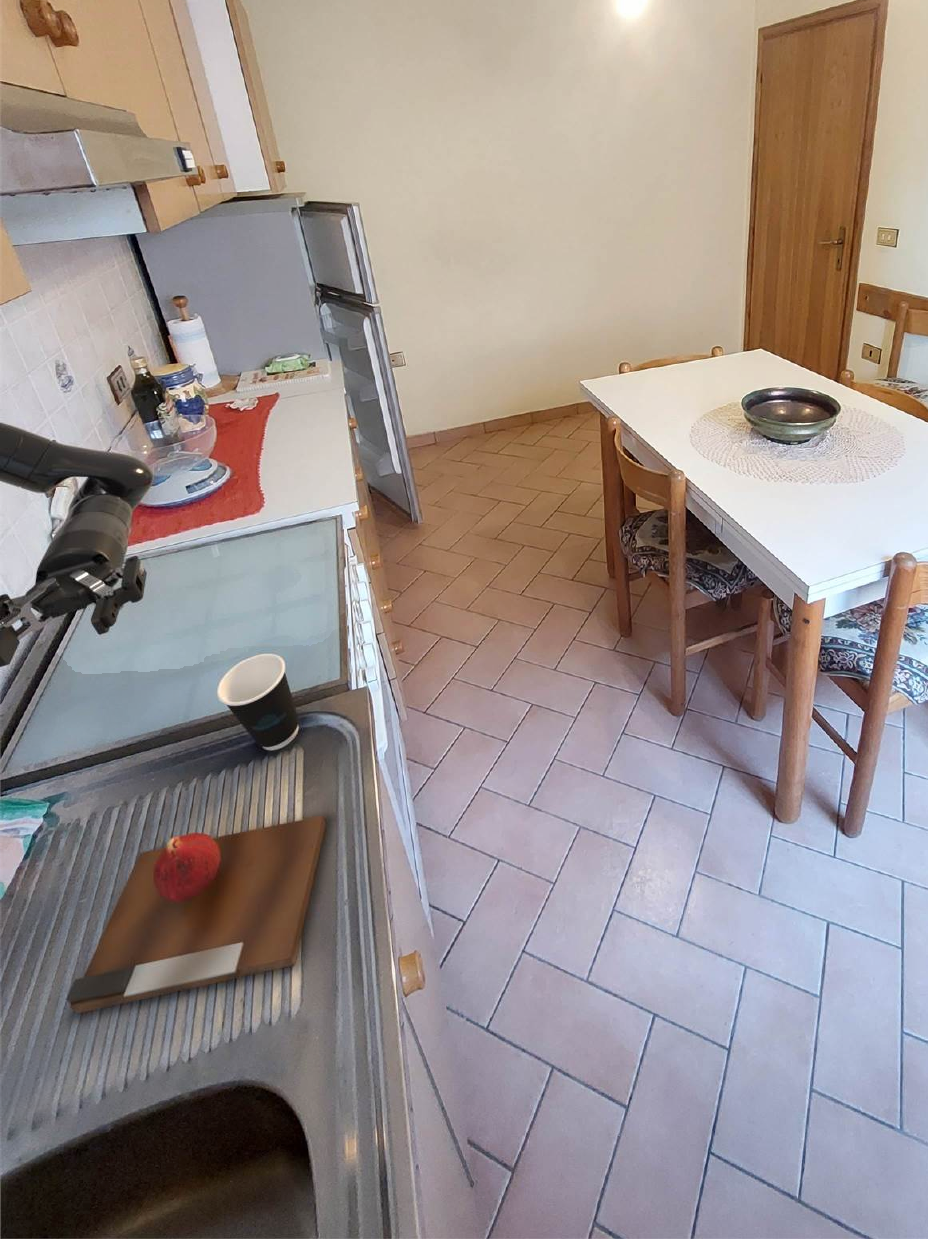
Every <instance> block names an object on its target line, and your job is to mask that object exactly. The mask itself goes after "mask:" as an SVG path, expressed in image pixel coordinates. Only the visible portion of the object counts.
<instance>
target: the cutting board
mask: <svg viewBox="0 0 928 1239" xmlns="http://www.w3.org/2000/svg"><path fill="white" fill-rule="evenodd" d="M326 824H327V823H326V820H325V818H324V817H323V815H320V816H315V817H310V818H305V819H300V820H295V821H290V822H285V823H280V824H275V825H269V826H265V827H260V828H256V829H251V830H246V831H239V832H235V833H231V834H226V835H221V836H220V835H219V836H216V837H211V838H212V839H213V840H214V841H215V842H216V844H217V845H218V847H219V851H220V858H221V859H220V863H219V867H218V870H217V873H216V875H215V877H214V879H213V881H212V882H211V884H210V885H209V886H208V887H207V888H206V889H205V890H204V891H203V892H202V893H201V894H199V895H198V896H196V897H194V898H192V899H190V900H186V901H180V902H173V901H171V900H168V899H165V898H163V897H162V896H160V894H159V892H158V890H157V889H156V887H155V885H154V867H155V864H156V862H157V860H158V857H159V855H160V854H161V853H162V851H163V850H164V849H165V848H166V847H162V848H161V847H160V848H157V849H151V850H147V851H142V852H140V853H139V854H138V857H137V859H136V861H135V864H134V866H133V867H132V870H131V872H130V875H129V877H128V878H127V881H126V883H125V884H124V887H123V890H122V892H121V893H120V896H119V898H118V900H117V903H116V904H115V907H114V909H113V911H112V913H111V915H110V917H109V920H108V922H107V925H106V927H105V928H104V931H103V933H102V935H101V937H100V940H99V942H98V944H97V946H96V949H95V951H94V953H93V955H92V957H91V960H90V962H89V964H88V966H87V968H86V971H85V973H84V975H83V976H82V977H79V978H75V979H74V981H73V983H72V985H71V988H70V990H69V992H68V994H67V996H66V999H65V1000H66V1001H67V1003H69V1004H70V1005H69V1008H70V1009H71V1010H72V1011H73V1012H74V1013H75V1014H77V1015H80V1014H84V1013H87V1012H92V1011H97V1010H100V1009H105V1008H109V1007H114V1006H119V1005H123V1004H128V1003H132V1002H133V1003H134V1002H136V1001H141V1000H146V999H150V998H154V997H160V996H164V995H168V994H172V993H173V994H174V993H177V992H182V991H186V990H190V989H196V988H199V987H203V986H209V985H212V984H218V983H223V982H227V981H231V980H235V979H239V978H244V977H249V976H253V975H258V974H263V973H266V972H270V971H275V970H276V971H277V970H280V969H285V968H289V967H294V966H295V965H296V961H297V957H298V953H299V948H300V943H301V938H302V934H303V930H304V925H305V920H306V916H307V911H308V907H309V904H310V903H309V902H310V898H311V892H312V888H313V883H314V880H315V875H316V871H317V865H318V861H319V858H320V852H321V847H322V842H323V838H324V833H325V831H326V830H325V829H326Z"/></svg>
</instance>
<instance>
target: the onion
mask: <svg viewBox="0 0 928 1239" xmlns="http://www.w3.org/2000/svg"><path fill="white" fill-rule="evenodd" d="M212 838H213V837H211V836H210V835H209V834H207V833H202V832H190V833H187V834H183V835H180V836H174V837H170V839H169V841H168V842H167V843H166V846H165V847H164V848H165V849H164V850H163V851H162V853H161V854H160V855H159V857H158V860H157V862H156V864H155V867H154V885H155V887H156V889H157V890H158V892H159V894H160V896H162V897H163V898H165V899H168V900H171V901H173V902H180V901H186V900H190V899H192V898H194V897H196V896H198V895H199V894H201V893H202V892H203V891H204V890H205V889H206V888H207V887H208V886H209V885H210V884H211V882H212V881H213V879H214V877H215V875H216V873H217V870H218V867H219V863H220V859H221V858H220V851H219V847H218V845H217V844H216V842H215V841H214V840H213V839H212Z"/></svg>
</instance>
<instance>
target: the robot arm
mask: <svg viewBox="0 0 928 1239" xmlns="http://www.w3.org/2000/svg"><path fill="white" fill-rule="evenodd" d="M70 478H86V479H85V481H84V482H83V483H82V485H80V487H79V488H78V490H77V492H76V493H75V495H74V496H73V498H72V500H71V502H70V504H69V506H68V509H67V516H66V517H65V520H64V521H63V523H62V525H61V527H59V528H58V530H57V531H56V533H55V534H54V535H53V537H52V539H51V541H50V543H49V545H48V547H47V549H46V551H45V553H44V555H43V556H42V559H41V560H40V563H39V564H38V566H37V568H36V573H35V582H34V585H33V586H32V587H31V588H30V589H28V590H27V591H26V592H25V595H21V596H18V597H17V596H16V597H13V598H11V597H10V596H9V594H8V593H4V594H0V668H2V667H3V668H4V667H5V666H9V665H10V664H11V662H12V660H13V658H14V656H15V654H16V652H17V650H18V648H19V645H20V643H21V640H22V639H23V638H24V637H26V636H27V635H28V634H30V633H31V632H32V631H34V632H38V631H40V630H42V629H43V628H44V627H45V626H47V625H48V624H49V623H51V622H52V621H54V620H55V619H56V618H58V617H62V616H63V615H66V614H69V613H72V612H77V611H81V610H85V609H87V607H88V606H92V605H93V606H94V609H93V612H92V613H91V617H90V623H91V625H92V627H93V629H94V630H95V632H96V633H97V634H98V635H99V636H101V635H104V634H107V633H109V632H110V628H111V627H113V626H114V625H115V623H117V619H118V616H119V613H120V611H121V610H122V609H123V608H124V605H125V604H127V603H129V602H130V603H132V604H135V603H138V602H140V601H141V600H142V599H144V595H145V594H144V593H145V587H146V581H147V574H148V573H147V571H146V568H145V567H144V565H143V564H142V562H141V560H140V558H139V556H138V555H133V556H130V557H128V558H127V559H126V560H125V557H126V555H127V551H128V548H129V538H130V535H131V533H132V529H133V525H134V518H135V517H134V511H135V509H136V508H137V507H138V505H139V504H140V502H141V501H142V500H143V498H144V497H145V496H146V495H147V493H148V492H149V490H150V489H151V487H152V486H153V484H154V481H155V475H154V473H153V470H152V469H151V467H150V466H149V465H147V464H146V463H145V462H144V461H142V460H141V459H139V458H137V457H134V456H132V455H129V454H124V453H119V452H111V451H105V450H97V449H91V448H86V447H79V446H74V445H69V444H63V443H60V442H57V441H55V440H51V439H50V438H47V437H44V436H42V435H39V434H37V433H34V432H31V431H28V430H25V429H22V428H20V427H17V426H14V425H11V424H7V423H5V422H0V482H1V483H4V484H7V485H11V486H14V487H17V488H20V489H23V490H25V491H29V492H32V493H36V494H47V493H49V492H51V491H53V490H54V489H55V488H57V487H59V485H61V484H62V483H63V482H64V481H66V480H68V479H70ZM124 561H125V563H124ZM123 564H124V565H123ZM120 579H121V583H120V587H117V588H116V589H115V588H114V586H115V585H117V583H119V580H120ZM32 610H34V611H35V612H37V613H39V614H41V615H40V616H39V617H38V618H37V617H36V615H35V613H34V612H33V611H32ZM18 621H20V622H21V626H19V627H18V628H17V629H15V628H14V626H13V625H14V624H16V623H17V622H18Z"/></svg>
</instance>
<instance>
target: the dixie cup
mask: <svg viewBox="0 0 928 1239" xmlns="http://www.w3.org/2000/svg"><path fill="white" fill-rule="evenodd" d="M216 689H217V690H216V696H217V699H218V701H219V702H220V703H222V704H224V705H226V706H227V708H228V709H229V711H230V712H231V713H232V714H233V715H234V716H235V718H236V719H237V721H238V722H239V723H240V724H241V725H242V727H243V728H244V729H245V730H246V732H247V733H248V734H249V736H250V737H251V738H252V739H253V741H254V742H256V744H257V745H258V746H259V747H262V748H263V749H264V750H267V751H276V750H280V749H282V748H284V747H286V746H287V745H289V744H290V743H291V742H292V741H293V740H294V739H295V738H296V737H297V734H298V732H299V721H300V720H299V715H298V713H297V709H296V705H295V702H294V699H293V695H292V691H291V689H290V685H289V682H288V678H287V675H286V663H285V660H284V659H283V658H282V657H281V656H279V655H277V654H274V653H261V654H256V655H254V656H251V657H248V658H246V659H243V660H242V661H239V662H238V663H236V664H235V665H234V666H233V667H231V668H230V669H229V670H228V671H227V672H225V674H224V675H223V676H222V678H221V679H220V681H219V683H218V685H217V688H216Z"/></svg>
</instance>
